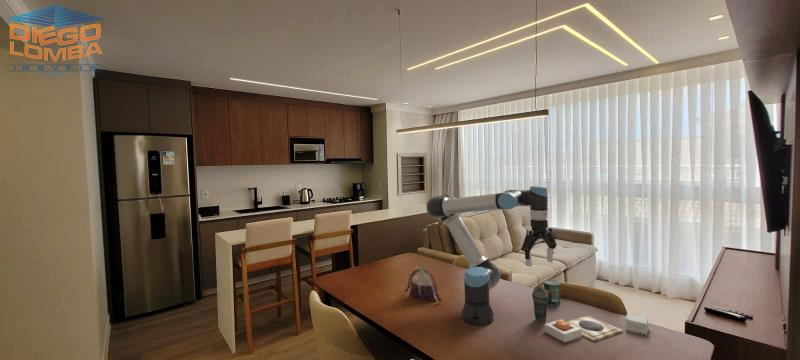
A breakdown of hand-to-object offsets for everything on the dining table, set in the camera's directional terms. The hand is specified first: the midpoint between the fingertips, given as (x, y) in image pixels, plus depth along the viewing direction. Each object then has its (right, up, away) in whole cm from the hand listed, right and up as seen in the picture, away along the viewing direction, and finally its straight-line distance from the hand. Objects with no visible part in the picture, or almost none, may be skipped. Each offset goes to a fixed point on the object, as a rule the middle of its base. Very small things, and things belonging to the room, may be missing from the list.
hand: (539, 263), depth 155 cm
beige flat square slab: (+19, -26, -9) cm, 34 cm away
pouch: (-53, -28, +30) cm, 67 cm away
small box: (+38, -26, -11) cm, 48 cm away
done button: (+4, -24, -13) cm, 28 cm away
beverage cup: (+1, -27, 0) cm, 27 cm away
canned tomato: (+15, -26, +20) cm, 36 cm away
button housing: (+5, -27, -13) cm, 30 cm away
